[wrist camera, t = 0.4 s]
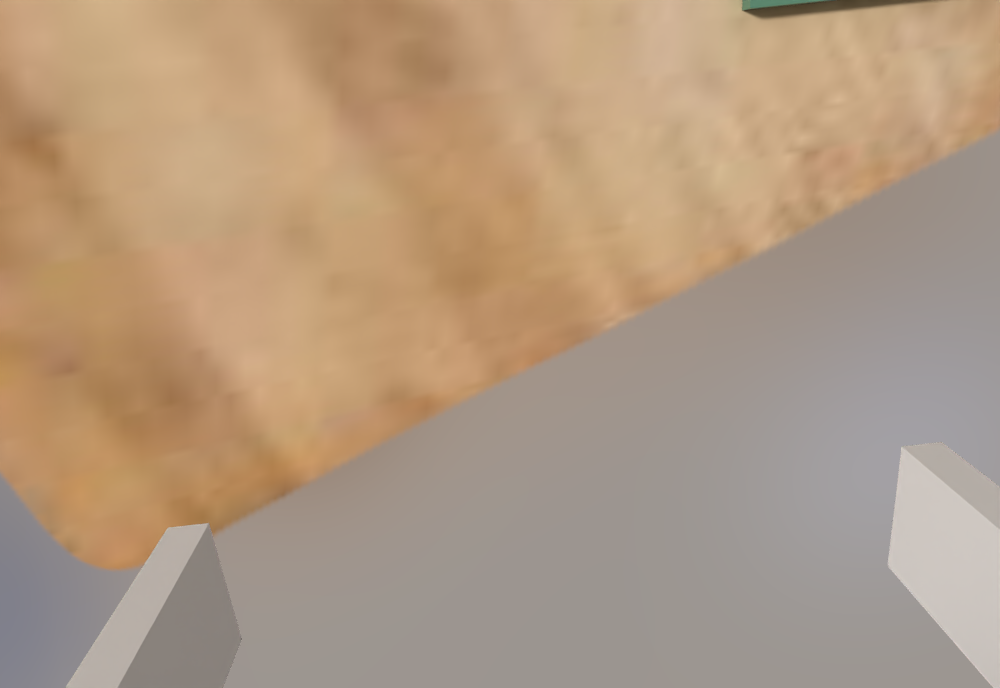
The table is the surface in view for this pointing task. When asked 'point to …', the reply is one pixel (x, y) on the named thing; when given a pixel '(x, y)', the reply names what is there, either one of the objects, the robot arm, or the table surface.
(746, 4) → the board
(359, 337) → the table surface
